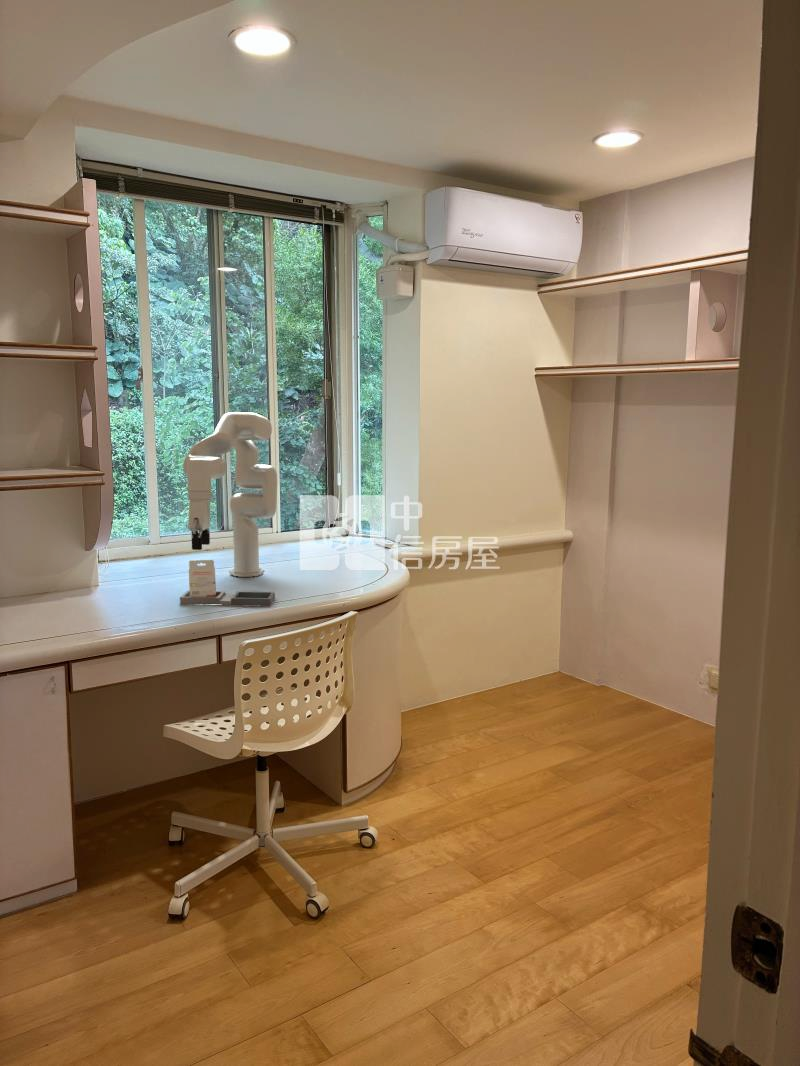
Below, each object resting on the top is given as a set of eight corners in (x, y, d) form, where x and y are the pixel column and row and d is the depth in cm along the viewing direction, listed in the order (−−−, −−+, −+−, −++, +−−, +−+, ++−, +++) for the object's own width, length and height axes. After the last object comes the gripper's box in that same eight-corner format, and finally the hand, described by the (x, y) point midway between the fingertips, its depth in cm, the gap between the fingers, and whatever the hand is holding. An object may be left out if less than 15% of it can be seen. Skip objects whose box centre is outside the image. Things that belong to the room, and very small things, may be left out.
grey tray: (225, 598, 272) (225, 591, 271) (275, 599, 271) (274, 592, 271) (219, 605, 263) (218, 598, 262) (270, 606, 262) (270, 599, 262)
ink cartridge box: (216, 599, 271) (215, 556, 268) (216, 603, 266) (214, 560, 263) (190, 600, 269) (189, 557, 266) (189, 603, 264) (188, 560, 261)
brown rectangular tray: (187, 597, 272) (187, 590, 271) (225, 598, 272) (225, 591, 271) (180, 604, 263) (179, 597, 263) (219, 605, 263) (218, 598, 262)
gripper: (195, 492, 269) (196, 542, 272) (180, 498, 252) (182, 551, 255) (217, 493, 269) (218, 542, 272) (204, 499, 252) (205, 552, 255)
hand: (201, 546), depth 264 cm, fingers open, 9 cm apart
